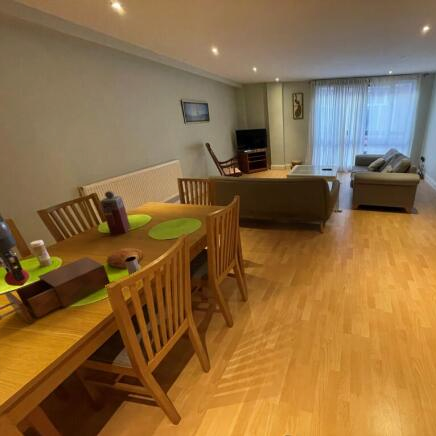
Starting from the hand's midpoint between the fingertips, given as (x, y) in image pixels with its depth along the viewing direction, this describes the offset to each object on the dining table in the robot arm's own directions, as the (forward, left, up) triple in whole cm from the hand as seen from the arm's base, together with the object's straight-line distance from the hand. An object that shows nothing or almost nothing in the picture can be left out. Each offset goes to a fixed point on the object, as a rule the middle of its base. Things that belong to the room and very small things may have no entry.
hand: (17, 277), depth 86 cm
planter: (+32, -12, -17) cm, 38 cm away
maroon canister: (+57, +47, -17) cm, 76 cm away
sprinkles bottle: (+17, +40, -17) cm, 47 cm away
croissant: (+38, +6, -17) cm, 42 cm away
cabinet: (+15, 0, -17) cm, 22 cm away
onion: (0, 0, -4) cm, 4 cm away
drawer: (+1, 0, -16) cm, 16 cm away
